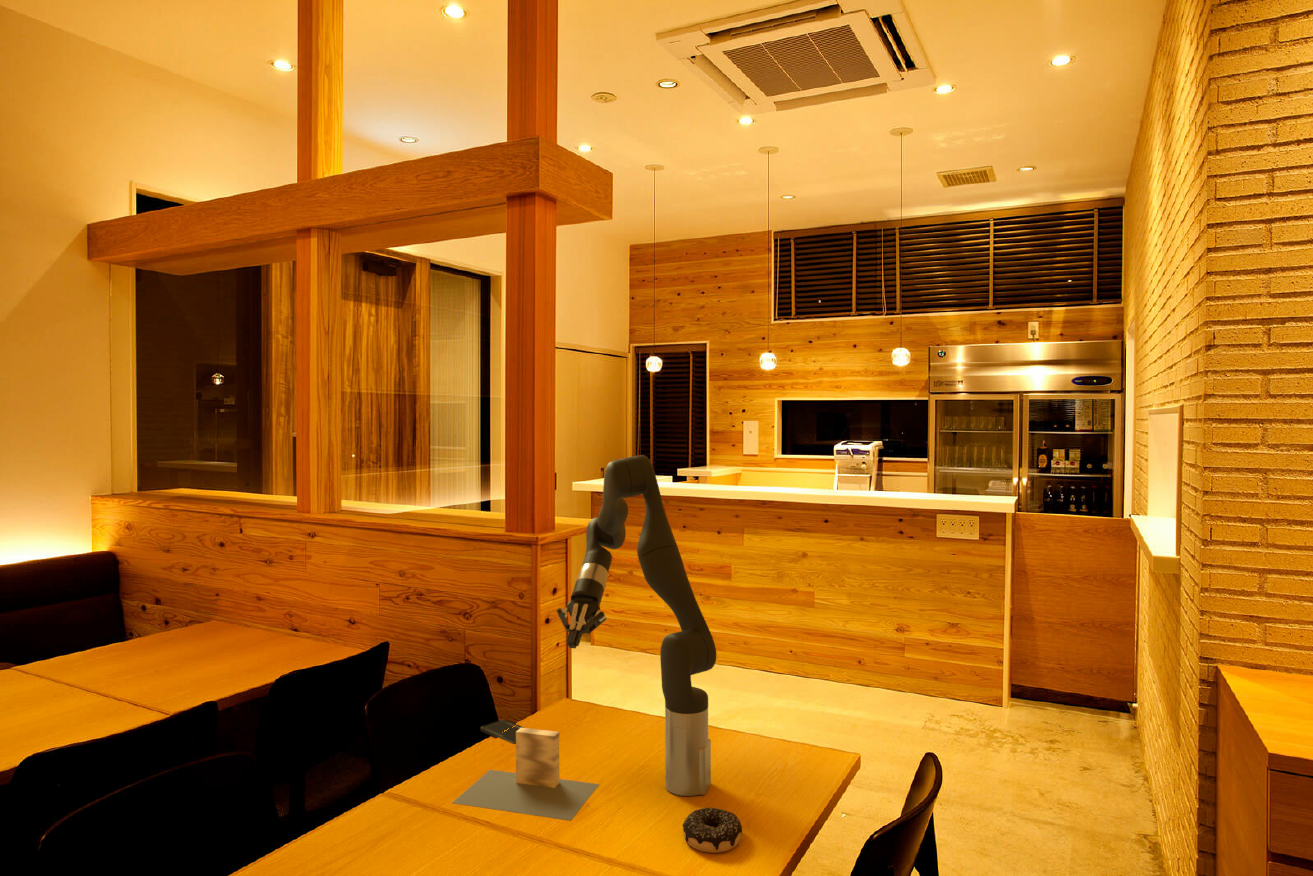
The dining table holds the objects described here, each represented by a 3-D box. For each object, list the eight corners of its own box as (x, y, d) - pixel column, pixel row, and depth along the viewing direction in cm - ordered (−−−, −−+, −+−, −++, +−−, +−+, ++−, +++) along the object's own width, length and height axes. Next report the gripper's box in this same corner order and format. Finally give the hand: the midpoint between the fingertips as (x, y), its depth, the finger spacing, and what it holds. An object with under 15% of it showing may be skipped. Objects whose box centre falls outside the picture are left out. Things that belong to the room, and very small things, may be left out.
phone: (504, 719, 204) (540, 734, 193) (504, 723, 204) (540, 738, 193) (478, 727, 198) (514, 743, 188) (478, 732, 198) (514, 748, 188)
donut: (738, 823, 151) (738, 803, 151) (746, 857, 139) (746, 835, 139) (681, 824, 151) (681, 804, 151) (684, 858, 139) (684, 835, 139)
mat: (599, 786, 166) (599, 784, 166) (570, 823, 151) (570, 820, 151) (490, 772, 174) (490, 769, 174) (451, 805, 158) (451, 803, 158)
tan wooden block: (560, 782, 167) (559, 731, 167) (554, 788, 165) (554, 736, 165) (521, 777, 170) (521, 727, 170) (516, 782, 167) (515, 731, 167)
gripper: (561, 575, 196) (541, 636, 185) (611, 578, 193) (593, 640, 181) (569, 592, 201) (550, 652, 190) (618, 595, 198) (601, 657, 186)
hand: (571, 646), depth 185 cm, fingers closed
